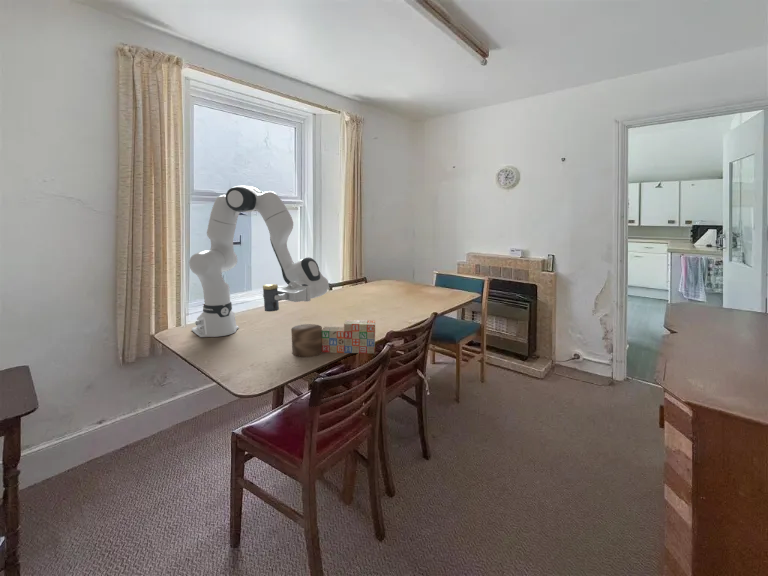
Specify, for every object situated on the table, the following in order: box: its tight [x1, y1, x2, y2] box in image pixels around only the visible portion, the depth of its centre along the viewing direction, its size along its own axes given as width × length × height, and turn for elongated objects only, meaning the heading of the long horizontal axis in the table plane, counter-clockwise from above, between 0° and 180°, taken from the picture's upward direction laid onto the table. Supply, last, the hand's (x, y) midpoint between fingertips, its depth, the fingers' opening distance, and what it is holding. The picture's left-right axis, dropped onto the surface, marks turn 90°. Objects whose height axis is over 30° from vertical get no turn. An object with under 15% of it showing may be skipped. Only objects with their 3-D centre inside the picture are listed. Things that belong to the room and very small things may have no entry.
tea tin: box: [262, 283, 280, 312], centre depth 153 cm, size 6×6×10 cm
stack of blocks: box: [322, 319, 376, 354], centre depth 156 cm, size 21×6×12 cm, turn 88°
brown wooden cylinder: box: [290, 323, 323, 358], centre depth 154 cm, size 12×12×10 cm
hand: (269, 296), depth 152 cm, fingers closed on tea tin, 5 cm apart
